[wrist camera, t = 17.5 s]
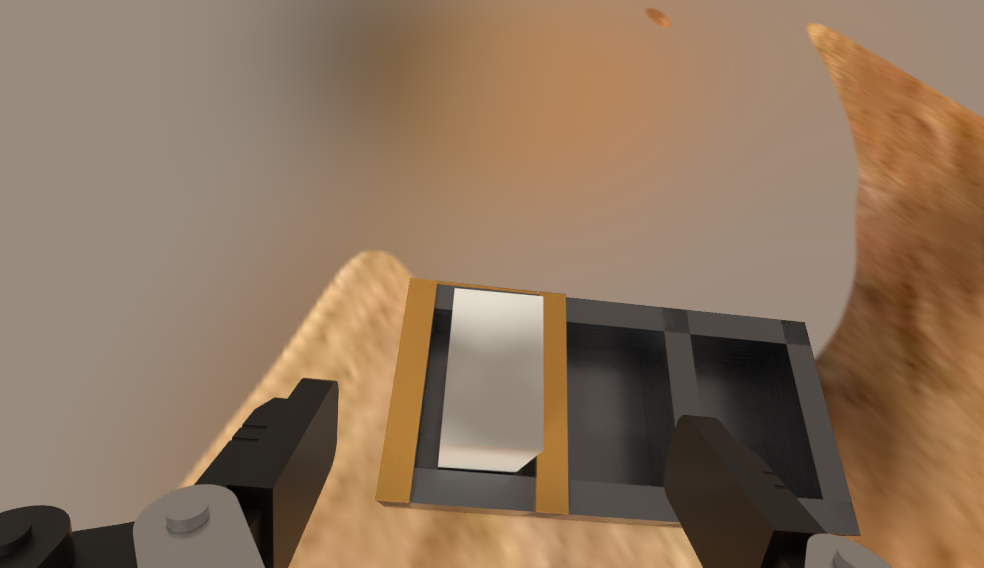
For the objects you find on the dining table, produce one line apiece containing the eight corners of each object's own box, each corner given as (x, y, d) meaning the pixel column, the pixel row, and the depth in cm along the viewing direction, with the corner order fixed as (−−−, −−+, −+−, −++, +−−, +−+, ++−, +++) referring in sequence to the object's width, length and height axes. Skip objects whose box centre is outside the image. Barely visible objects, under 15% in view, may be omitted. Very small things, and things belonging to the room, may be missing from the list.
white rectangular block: (509, 369, 24) (543, 296, 17) (506, 479, 21) (543, 450, 14) (447, 364, 23) (454, 288, 16) (436, 475, 21) (440, 442, 14)
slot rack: (756, 344, 27) (807, 313, 23) (796, 536, 22) (866, 535, 19) (413, 310, 25) (411, 272, 22) (384, 506, 21) (375, 499, 17)
